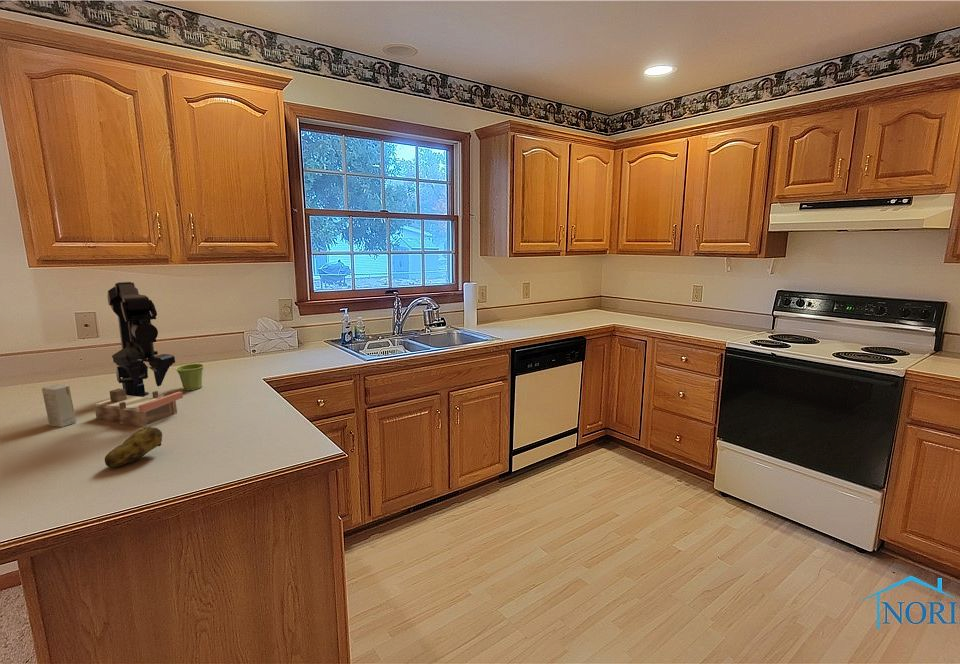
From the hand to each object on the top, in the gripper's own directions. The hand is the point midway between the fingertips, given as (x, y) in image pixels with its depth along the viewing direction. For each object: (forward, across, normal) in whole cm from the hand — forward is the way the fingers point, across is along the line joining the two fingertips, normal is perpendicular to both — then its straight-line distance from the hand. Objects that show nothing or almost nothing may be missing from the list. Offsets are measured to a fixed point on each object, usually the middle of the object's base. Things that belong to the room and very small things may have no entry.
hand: (147, 384), depth 152 cm
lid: (+8, -7, 0) cm, 10 cm away
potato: (+11, +23, -25) cm, 36 cm away
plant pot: (+12, -14, +29) cm, 34 cm away
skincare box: (+12, -23, -11) cm, 28 cm away
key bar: (+6, +5, 0) cm, 8 cm away
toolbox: (+12, -7, 0) cm, 13 cm away
